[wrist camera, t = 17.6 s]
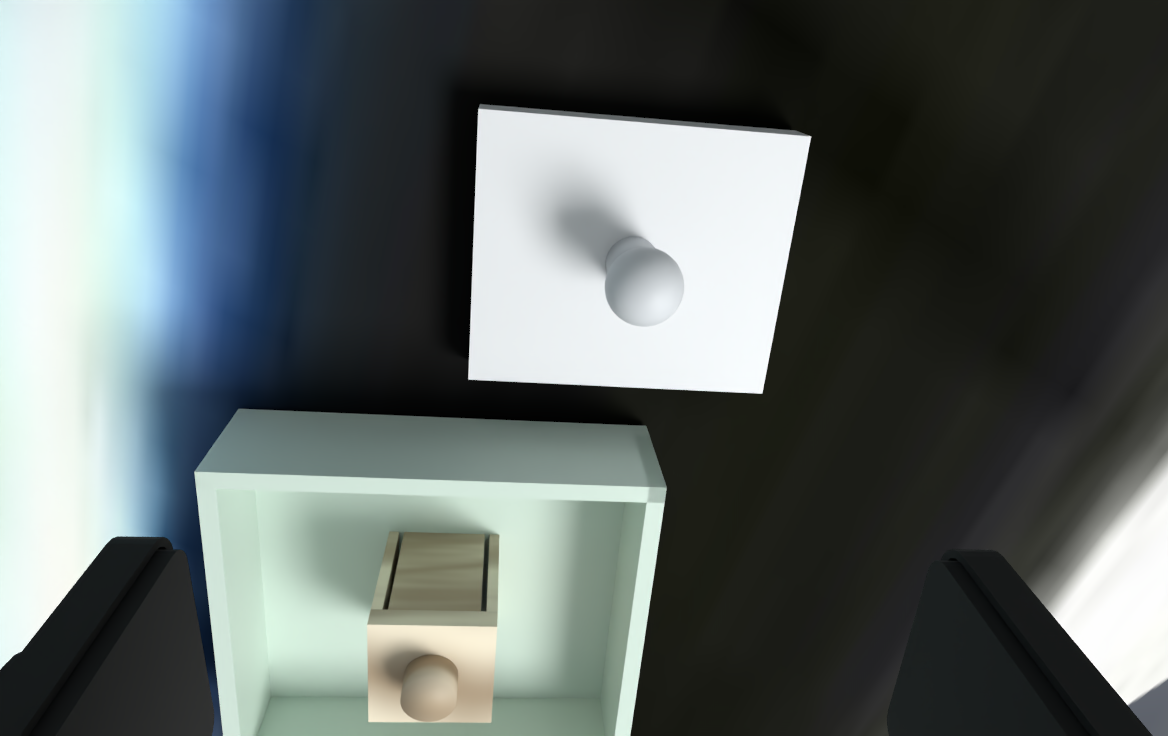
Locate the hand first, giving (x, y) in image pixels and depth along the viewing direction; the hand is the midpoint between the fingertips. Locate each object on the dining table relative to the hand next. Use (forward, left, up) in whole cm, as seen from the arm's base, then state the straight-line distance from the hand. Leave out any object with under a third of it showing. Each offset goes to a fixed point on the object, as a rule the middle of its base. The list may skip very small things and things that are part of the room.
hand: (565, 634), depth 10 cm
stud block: (-5, +2, -29) cm, 29 cm away
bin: (+3, +20, -29) cm, 35 cm away
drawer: (+3, +20, -28) cm, 34 cm away
